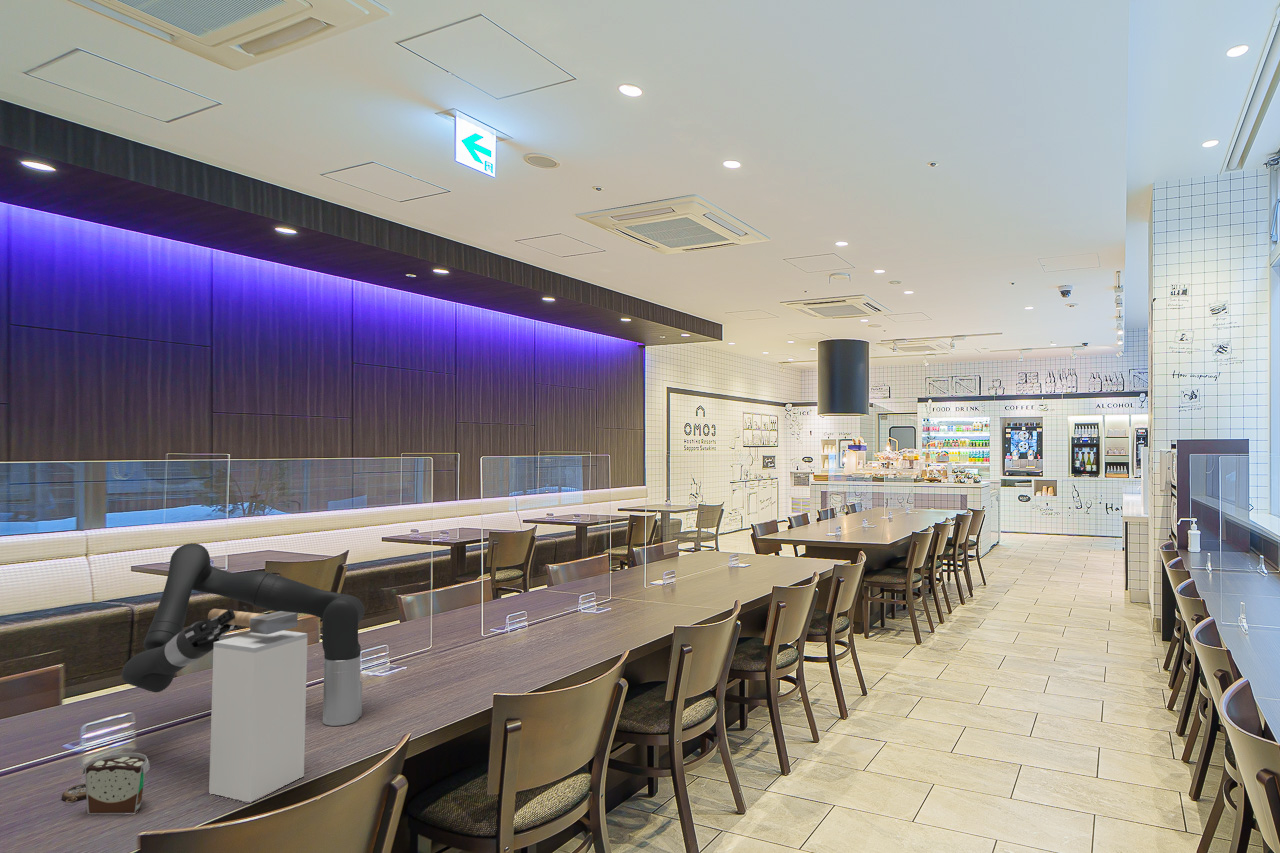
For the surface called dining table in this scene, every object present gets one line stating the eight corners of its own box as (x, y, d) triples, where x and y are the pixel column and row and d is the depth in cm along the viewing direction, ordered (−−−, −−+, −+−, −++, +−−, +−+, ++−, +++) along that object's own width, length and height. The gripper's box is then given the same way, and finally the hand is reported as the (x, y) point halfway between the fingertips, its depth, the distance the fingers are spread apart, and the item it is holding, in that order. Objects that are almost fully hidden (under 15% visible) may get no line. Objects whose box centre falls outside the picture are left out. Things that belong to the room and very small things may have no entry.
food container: (161, 800, 155) (163, 751, 155) (142, 814, 149) (144, 763, 149) (101, 800, 155) (103, 751, 155) (80, 814, 148) (82, 764, 149)
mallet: (197, 625, 165) (197, 612, 165) (229, 618, 173) (229, 605, 173) (267, 634, 157) (267, 620, 158) (297, 626, 165) (297, 612, 165)
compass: (69, 791, 159) (70, 756, 159) (111, 786, 161) (113, 752, 161) (51, 808, 151) (52, 771, 152) (96, 803, 153) (97, 767, 154)
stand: (264, 768, 171) (268, 628, 172) (303, 777, 166) (307, 633, 168) (208, 794, 158) (213, 642, 159) (250, 804, 153) (254, 648, 155)
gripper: (156, 636, 166) (205, 602, 160) (213, 622, 179) (260, 591, 173) (167, 667, 164) (217, 634, 159) (224, 651, 177) (271, 620, 172)
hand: (239, 611), depth 166 cm, fingers closed on mallet, 3 cm apart
